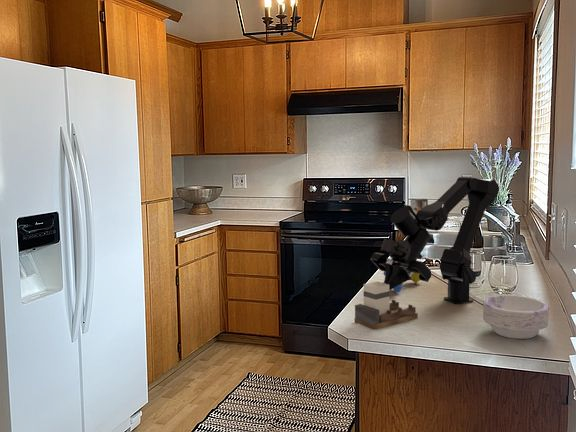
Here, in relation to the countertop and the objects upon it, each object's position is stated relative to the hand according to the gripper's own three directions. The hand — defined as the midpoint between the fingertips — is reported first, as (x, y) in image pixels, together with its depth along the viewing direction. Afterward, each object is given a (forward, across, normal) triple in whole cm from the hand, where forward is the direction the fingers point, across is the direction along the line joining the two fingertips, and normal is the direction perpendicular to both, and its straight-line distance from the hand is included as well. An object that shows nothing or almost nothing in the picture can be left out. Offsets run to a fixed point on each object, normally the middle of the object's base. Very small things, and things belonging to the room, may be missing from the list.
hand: (384, 291), depth 153 cm
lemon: (-20, -23, +32) cm, 44 cm away
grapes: (-11, -20, +23) cm, 32 cm away
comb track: (+6, 0, +6) cm, 8 cm away
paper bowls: (-7, +28, +19) cm, 34 cm away
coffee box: (-88, -110, +100) cm, 173 cm away
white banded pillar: (+7, 0, +3) cm, 7 cm away
